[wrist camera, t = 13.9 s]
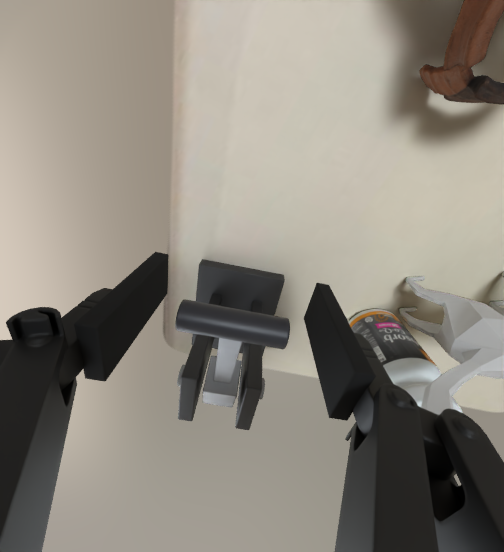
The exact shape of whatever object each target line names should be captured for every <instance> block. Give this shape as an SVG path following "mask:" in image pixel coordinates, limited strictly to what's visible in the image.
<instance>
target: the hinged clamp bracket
mask: <svg viewBox="0 0 504 552" xmlns="http://www.w3.org/2000/svg"><path fill="white" fill-rule="evenodd" d="M283 284H284V275H281V274H276V273H271V272H266V271H260V270H255V269H250V268H245V267H240V266H234V265H229V264H224V263H219V262H213V261H208V260H203V259H202V261H201V262H200V264H199V272H198V283H197V294H196V302H201V303H207V304H212V305H218V306H223V307H229V308H234V309H240V310H245V311H251V312H256V313H262V314H267V315H273V316H274V315H275V311H276V308H277V305H278V301H279V298H280V294H281V291H282V288H283ZM218 344H219V338H216V337H210V336H205V335H199V334H193V337H192V345H193V346H192V349H191V351H190V354H189V357H188V359H187V362H186V365H182V367H181V370H180V372H179V376H178V382H177V385H178V386H180V400H179V413H178V419H180V420H187V421H192V420H193V417H194V413H195V409H196V405H197V402H198V397H199V394H200V390H201V387H202V383H203V379H204V375H205V372H206V368H207V364H208V361H209V357H210V353H211V349H212V348H215V349H218ZM264 349H265V346H262V345H256V344H250V343H245V342H242V344H241V347H240V351H239V353H243V357H242V367H241V377H240V387H239V396H238V407H237V416H236V426H235V427H236V428H238V429H245V430H249V429H250V426H251V423H252V419H253V416H254V413H255V410H256V407H257V404H258V401H259V399H262V398H263V394H264V387H265V380H264V378H262V356H263V352H264Z"/></svg>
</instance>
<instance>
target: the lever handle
mask: <svg viewBox="0 0 504 552" xmlns="http://www.w3.org/2000/svg"><path fill="white" fill-rule="evenodd" d="M176 330H177V331H182V332H187V333H193V334H199V335H205V336H210V337H216V338H219V344H218V352H217V356H211V358H210V363H209V367H208V371H207V375H206V380H205V384H204V388H203V403H207V404H213V405H219V406H226V407H233V404H234V401H235V399H236V397H237V391H238V384H239V376H240V369H241V361H240V360H237V358H238V354H239V351H240V347H241V344H242V342H245V343H250V344H256V345H262V346H267V347H273V348H279V349H284V348H285V347H286V345H287V343H288V339H289V333H290V323H289V319H287V318H284V317H278V316H273V315H267V314H262V313H256V312H251V311H245V310H240V309H234V308H229V307H223V306H218V305H212V304H207V303H201V302H196V301H190V300H183V301H182V302H181V304H180V306H179V309H178V312H177V317H176Z"/></svg>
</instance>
